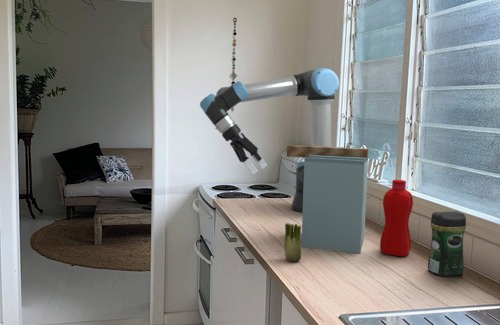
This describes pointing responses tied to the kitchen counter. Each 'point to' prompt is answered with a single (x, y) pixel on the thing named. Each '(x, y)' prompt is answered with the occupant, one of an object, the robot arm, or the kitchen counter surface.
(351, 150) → the walnut slat
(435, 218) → the coffee jar
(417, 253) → the kitchen counter surface
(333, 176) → the grey-blue storage bin
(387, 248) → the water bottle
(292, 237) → the fennel bulb
